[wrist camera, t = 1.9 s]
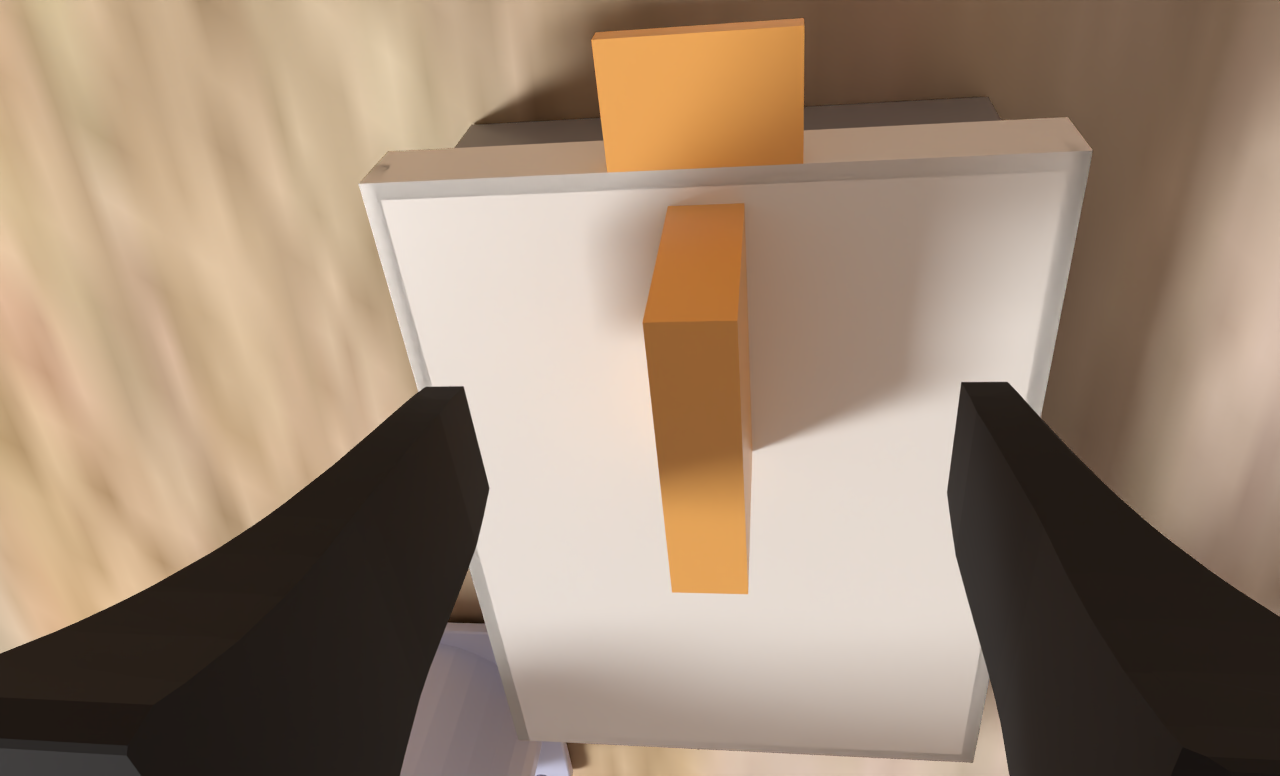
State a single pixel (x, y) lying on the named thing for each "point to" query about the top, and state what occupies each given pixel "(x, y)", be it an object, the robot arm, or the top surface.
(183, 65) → the top surface
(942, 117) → the tub
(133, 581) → the top surface
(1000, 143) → the lid
